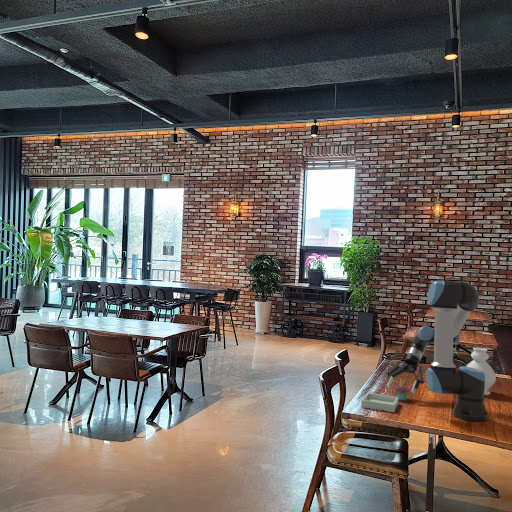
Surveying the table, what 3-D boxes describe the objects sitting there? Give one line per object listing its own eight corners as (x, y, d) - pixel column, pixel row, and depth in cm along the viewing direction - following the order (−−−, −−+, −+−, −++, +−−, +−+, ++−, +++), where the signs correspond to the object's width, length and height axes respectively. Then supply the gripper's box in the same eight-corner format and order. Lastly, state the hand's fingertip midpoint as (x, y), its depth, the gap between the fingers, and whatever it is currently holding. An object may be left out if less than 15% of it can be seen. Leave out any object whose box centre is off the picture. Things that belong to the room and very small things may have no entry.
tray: (394, 412, 248) (394, 405, 248) (361, 407, 254) (361, 400, 254) (398, 403, 262) (398, 397, 262) (366, 399, 268) (367, 392, 268)
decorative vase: (458, 386, 305) (460, 344, 305) (490, 389, 301) (492, 347, 301) (464, 394, 288) (466, 350, 287) (498, 397, 284) (500, 352, 284)
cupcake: (406, 402, 266) (408, 379, 266) (390, 399, 270) (391, 376, 270) (411, 398, 273) (412, 376, 273) (395, 396, 278) (396, 373, 278)
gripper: (437, 366, 276) (424, 399, 264) (394, 358, 292) (380, 389, 281) (433, 357, 272) (421, 390, 260) (390, 350, 288) (376, 381, 277)
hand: (399, 390), depth 271 cm, fingers open, 13 cm apart
